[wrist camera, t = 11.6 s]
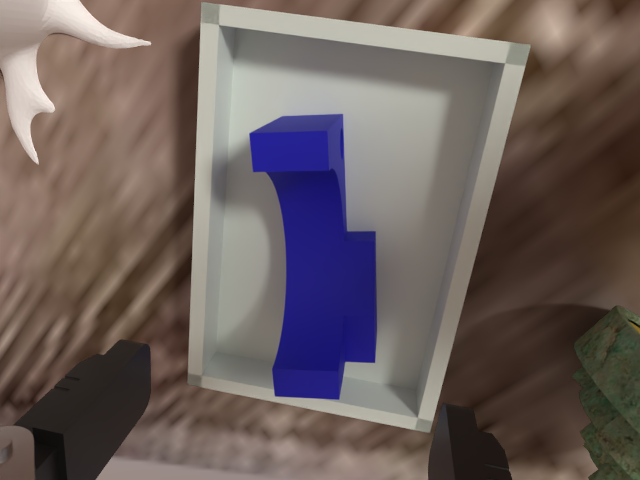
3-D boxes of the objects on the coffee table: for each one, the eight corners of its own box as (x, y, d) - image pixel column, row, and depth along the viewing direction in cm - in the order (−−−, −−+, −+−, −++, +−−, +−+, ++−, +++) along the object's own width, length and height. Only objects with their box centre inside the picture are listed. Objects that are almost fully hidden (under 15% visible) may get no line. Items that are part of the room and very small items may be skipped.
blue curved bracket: (377, 332, 28) (372, 401, 22) (298, 330, 28) (274, 396, 23) (374, 112, 24) (368, 129, 18) (282, 116, 24) (249, 133, 19)
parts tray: (513, 46, 23) (530, 44, 20) (426, 397, 30) (429, 432, 27) (224, 8, 24) (201, 1, 21) (206, 354, 31) (187, 384, 28)
